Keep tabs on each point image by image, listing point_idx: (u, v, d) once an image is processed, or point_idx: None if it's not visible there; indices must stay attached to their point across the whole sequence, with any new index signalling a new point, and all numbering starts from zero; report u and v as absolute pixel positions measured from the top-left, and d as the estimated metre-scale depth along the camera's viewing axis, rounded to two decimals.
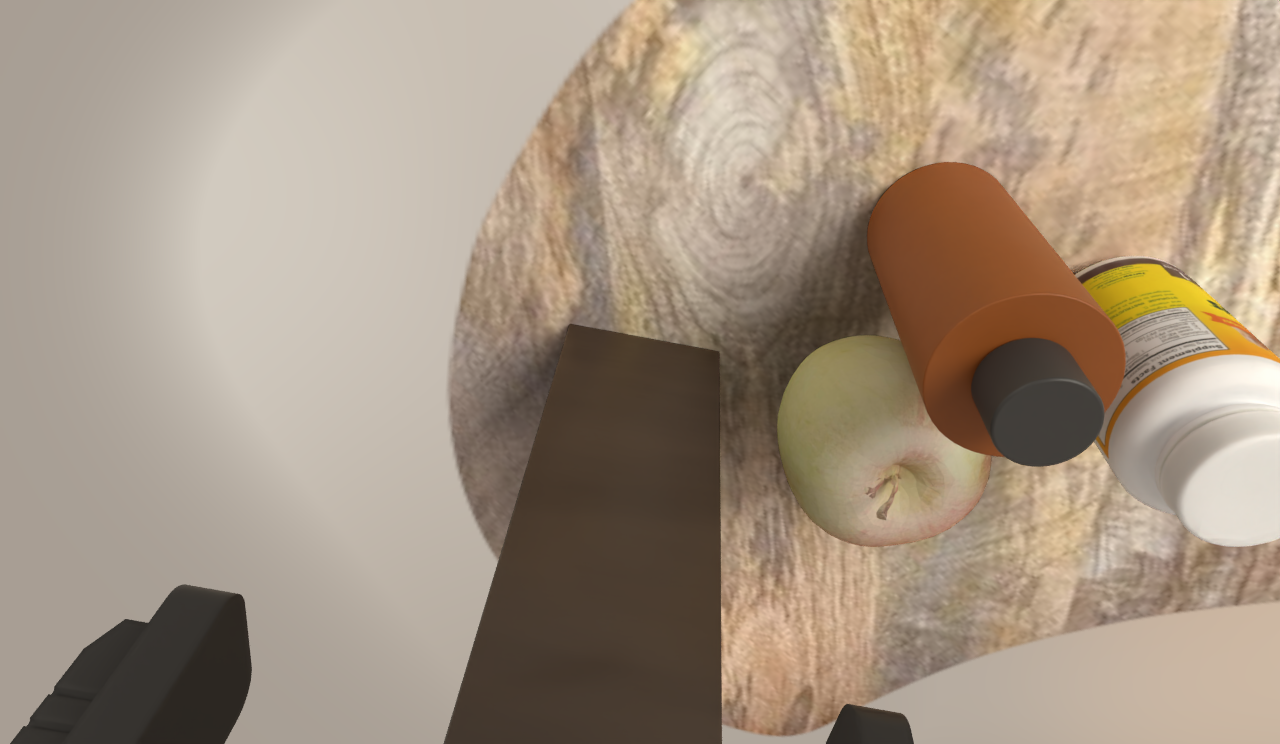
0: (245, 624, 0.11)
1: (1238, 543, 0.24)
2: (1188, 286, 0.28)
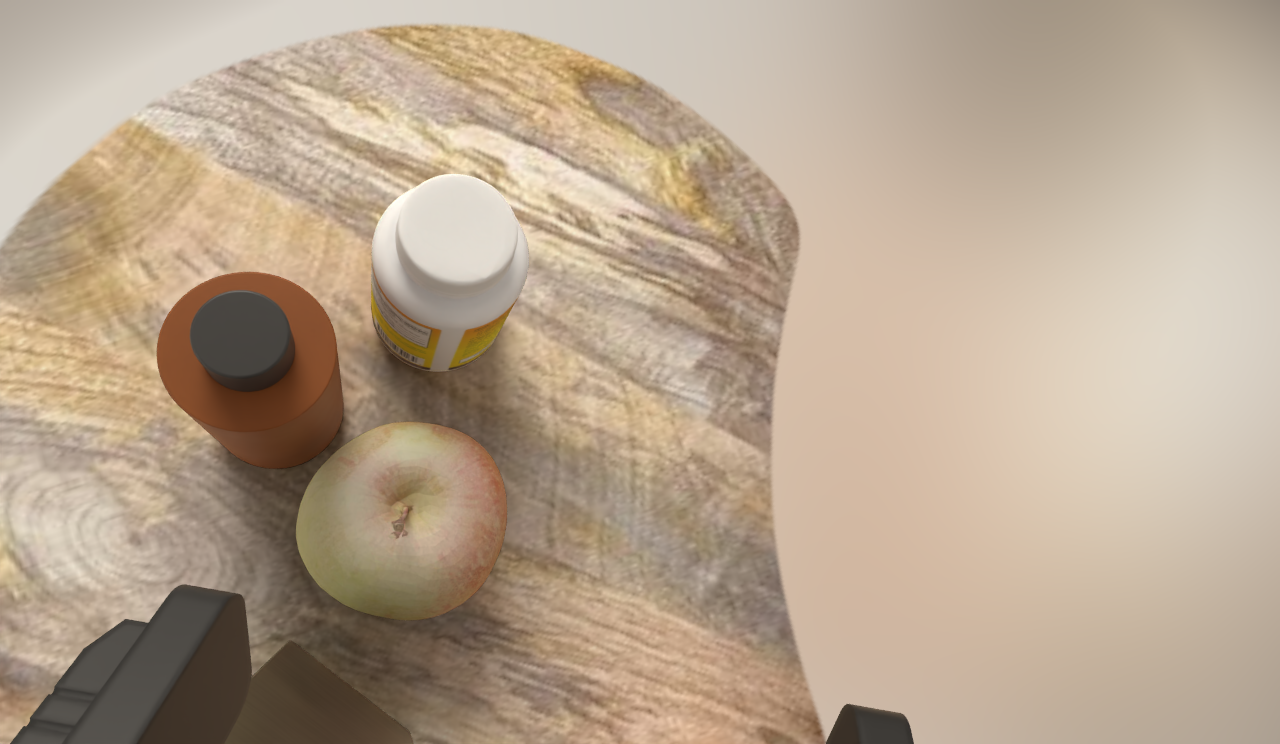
0: (245, 624, 0.11)
1: (507, 253, 0.29)
2: None
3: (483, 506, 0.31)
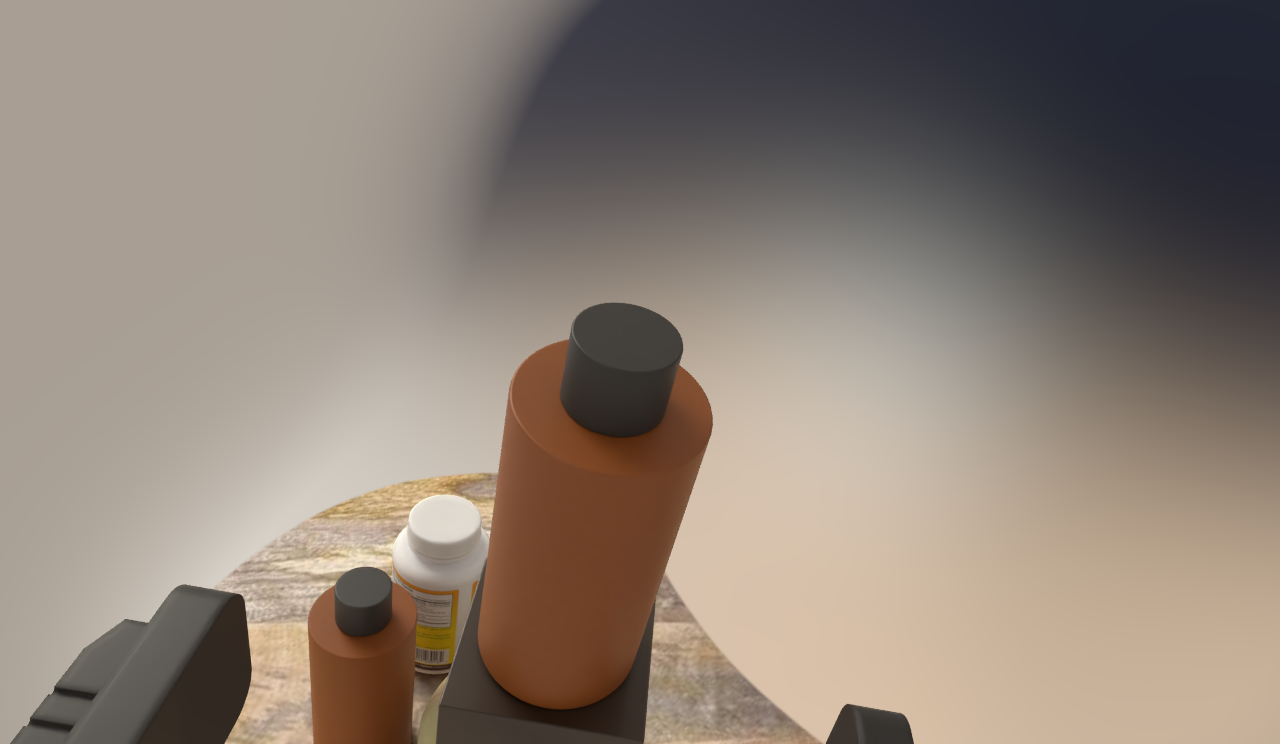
0: (245, 624, 0.11)
1: (478, 518, 0.48)
2: None
3: None
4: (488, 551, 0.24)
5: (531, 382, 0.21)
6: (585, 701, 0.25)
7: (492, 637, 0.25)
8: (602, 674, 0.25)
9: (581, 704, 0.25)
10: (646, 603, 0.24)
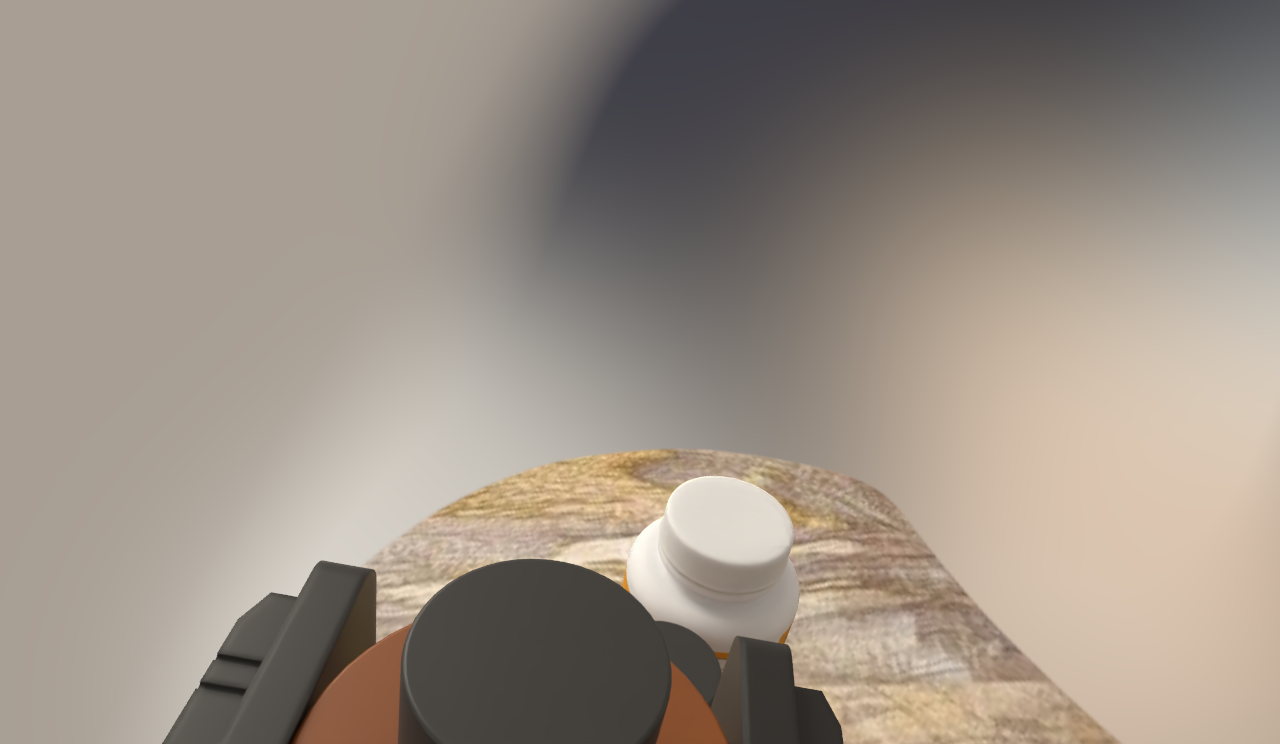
0: (375, 599, 0.12)
1: (786, 517, 0.27)
2: None
3: None
4: None
5: (337, 741, 0.09)
6: None
7: None
8: None
9: None
10: None
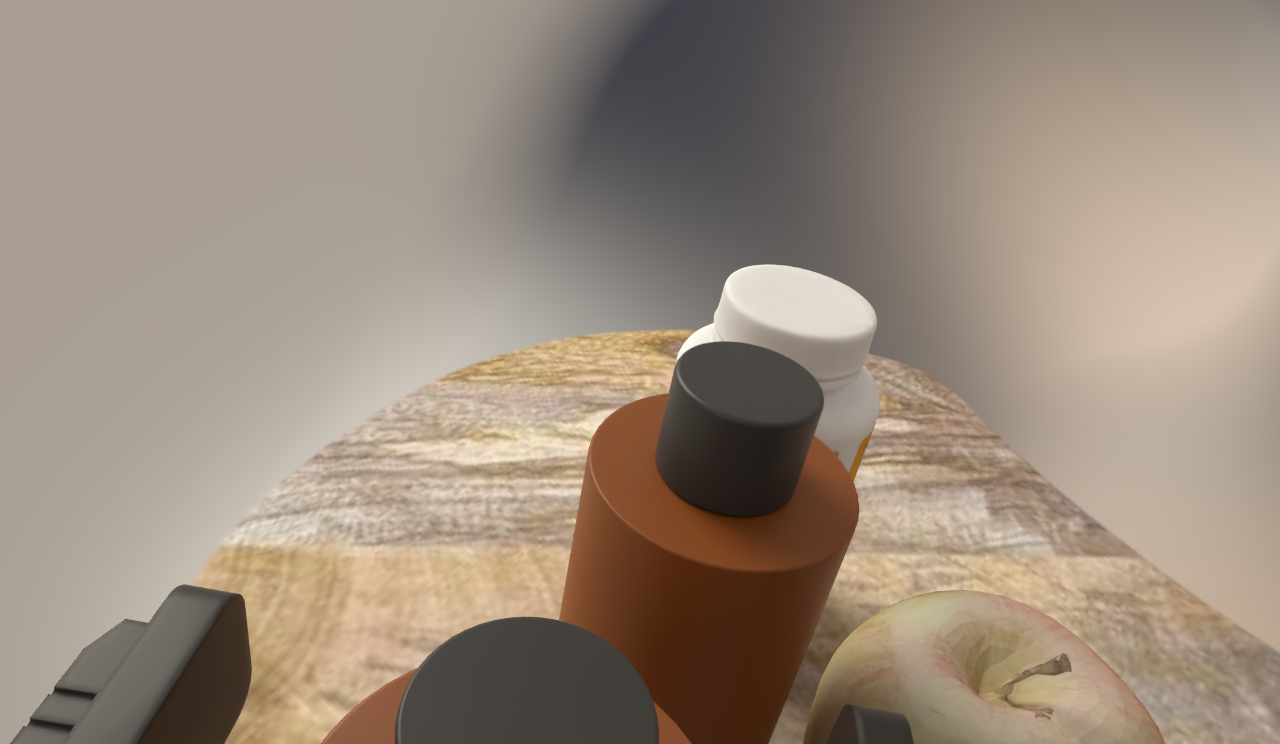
0: (245, 624, 0.11)
1: (865, 303, 0.22)
2: None
3: (1074, 635, 0.19)
4: None
5: None
6: None
7: None
8: None
9: None
10: None
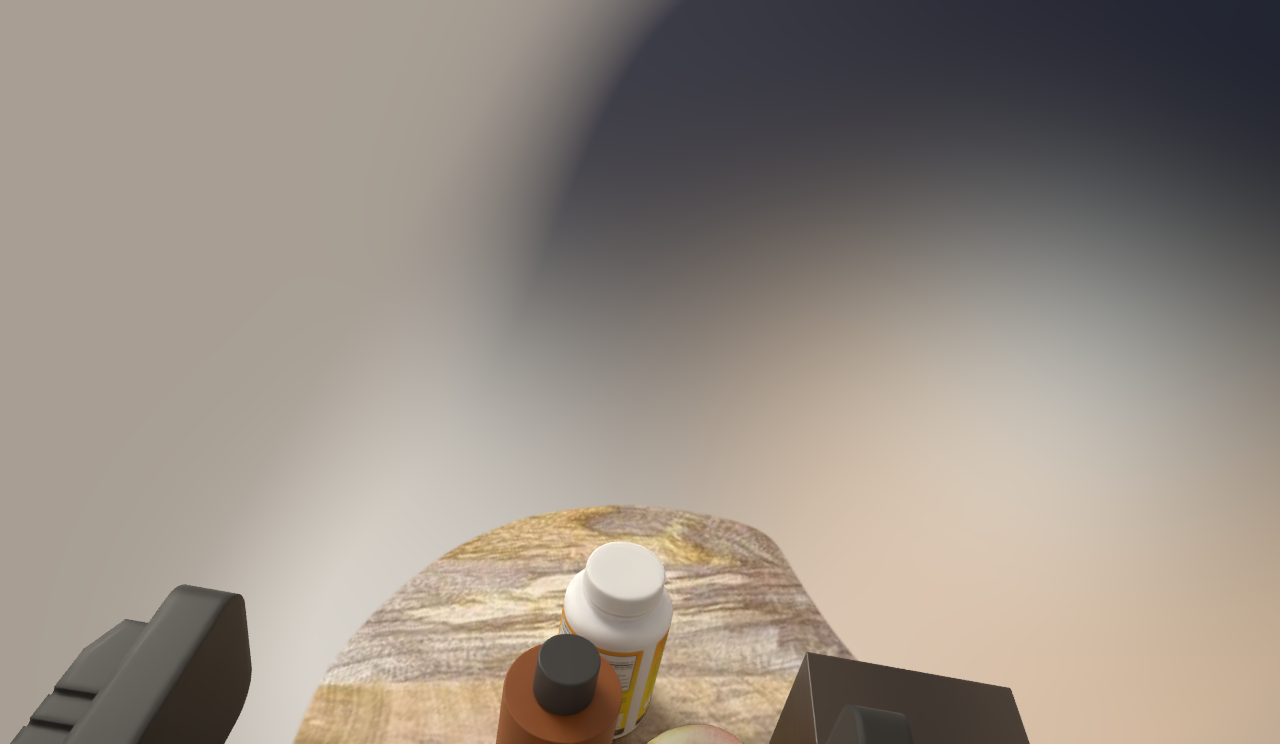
0: (245, 624, 0.11)
1: (661, 569, 0.43)
2: None
3: None
4: None
5: None
6: None
7: None
8: None
9: None
10: None
